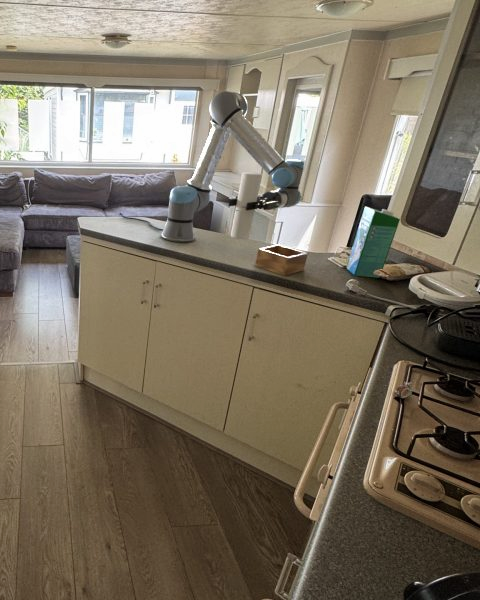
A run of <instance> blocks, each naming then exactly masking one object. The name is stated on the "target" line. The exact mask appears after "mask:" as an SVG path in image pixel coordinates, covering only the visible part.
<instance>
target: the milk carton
mask: <svg viewBox="0 0 480 600" xmlns="http://www.w3.org/2000/svg"><path fill="white" fill-rule="evenodd" d="M394 215H395V212H394V211H391V210H388V209H385V208H382V209H381V210H379V209H375V208H372V207H369V206H364V208H363V212H362V215H361V218H360V220H359V221H360V222H359V225H358V228H357V231H356V234H355V238H354V240H353V243H352V248H351V250H350V254H349V256H348V260H347V264H346V266H345V268H346V270H348V271H349V272H350V273H351V274H352V275H353V276H356V277H367V278H378V279H380V278H381V276H378V275H373V272H374V271H375V270H377V269H383V270H384V267H385V264H386V262H387V258H388V256H389V253H390V249H391V247H392V244H393V241H394V238H395V235H396V234H397V233H396V232H397V230H398V227H399V224H400V222H401V221H400V220H401V219H400V218H398V217H396V216H394Z"/></svg>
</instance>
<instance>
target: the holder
mask: <svg viewBox="0 0 480 600" xmlns="http://www.w3.org/2000/svg"><path fill="white" fill-rule="evenodd" d="M308 255H309V252H306V251H302V250H299V249H295V248H292V247H288V246H284V245H280V244H274V245H269V246H265V247H260V248H258V250H257V253H256V259H255V263H254V266H255V267H258V268H260V269H264V270H267V271H270V272H272V273H276V274H277V275H281V276H285V277H286V276H289V275H293V274H296V273H298V272H303V271H304V270H305V266H306V263H307V259H308Z"/></svg>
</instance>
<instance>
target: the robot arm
mask: <svg viewBox="0 0 480 600" xmlns="http://www.w3.org/2000/svg"><path fill="white" fill-rule="evenodd" d="M248 109H249V104H248V101H247V99H246V97H245V96H244V95H243V94H241V93H239V92H234V91H220V92H219V93H217V94H216V95H214V97H213V98H211V101H210V103H209V114H210V117H212V118H211V120H210V123H211V126H212V127H211V129H210V132H209V135H208V137H207V140H206V143H205V146H204V147H203V150H202V153H201V155H200V158H199V161H198V162H197V165H196V169H195V171H194V174H193V176H192V178H190V179H188V180H187V183H186V185H181V186H175V187H173V188H172V189H171V190H170V195H169V203H168V211H167V219H166V223H165V225H164V227H163V228H159V227H156V226H154V225H153V224H152V223H151V222H150V221H148V220H145V219H141V218H136V217H128V216H124V215H123V212H120V213H119V216H121V218H123V219H127V220H135V221H140V222H144V223H147V224H149V226H150V227H151V228H153V229H154V230H157V231H159V232H161V235H160V236H161V238H162V239H163V240H165V241H168V242H174V243H191V242H193V241H194V240H195V233H194V225H193V221H194V216H195V215H194V214H195V213H196V212H200V211H202V210H203V209H205V208H206V207H207V206H208V204H209V202H210V200H211V195H210V193H211V191H212V188H213V187H212V186H211V183H212V180H213V178H214V176H215V173H216V170H217V168H218V165H219V163H220V161H221V158H222V156H223V153H224V151H225V149H226V146H227V144H228V141H229V139H230V137H231V135H232V136H233V138H234V139H235V140H236V141H237V142H238V143H239V144H240V145H241V146H242V147H243V149H244V150H245V151H246V153H248V154H249V155H250V156H251V158H253V160H255V162H256V163H257V164H258V165H259V166H260V168H262V170H263V171H264V172H265V173H266V174H267V175H268V176H269V177H270V178H271V182H272V184H273V185H274V186H275V187H276V188H278V189H275V190H271V191H270V190H269V191H265V192H264V193H262V194H261V195H258V197H257V202H250V203H247V205H246V210H253V209H255V210H262V209H263V210H264V211H271V210H274V211H276V210H277V209H284V208H291V207H294V206H296V205H298V204H299V203H300V201H301V199H302V193H301V192H300V190H299V189H300V184H301V179H302V176H303V172H304V169H305V161H304V160H299V159H286V160H285V159H284V158H283V157H282V156H281V155H280V154H279V153H278V151H276V150H275V148H274V147H273V146H272V145H271V144H270V143H269V142H268V141H267V140H266V139H265V138H264V137H263V136H262V134H261V133H260V132H259V131H258V130H257V129H256V128H255V126H253V124H252V123H251V122H250V121H249V120H248V119H247V118H246V115H247V113H248ZM237 199H238V195H237V196H235V198H230V199H229V202H228V207H236V204H237Z"/></svg>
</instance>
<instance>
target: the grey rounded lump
mask: <svg viewBox="0 0 480 600" xmlns="http://www.w3.org/2000/svg"><path fill="white" fill-rule="evenodd" d="M394 392H395V393H396V395H397V396H398V397H399V398H400V399H406V398H408V397H409V396H411V395H412V393H413V391H412V388H411V383H406V382H405V381H404V382H403V384H401V385H398V386H397V387H396V389H395V390H394Z"/></svg>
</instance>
